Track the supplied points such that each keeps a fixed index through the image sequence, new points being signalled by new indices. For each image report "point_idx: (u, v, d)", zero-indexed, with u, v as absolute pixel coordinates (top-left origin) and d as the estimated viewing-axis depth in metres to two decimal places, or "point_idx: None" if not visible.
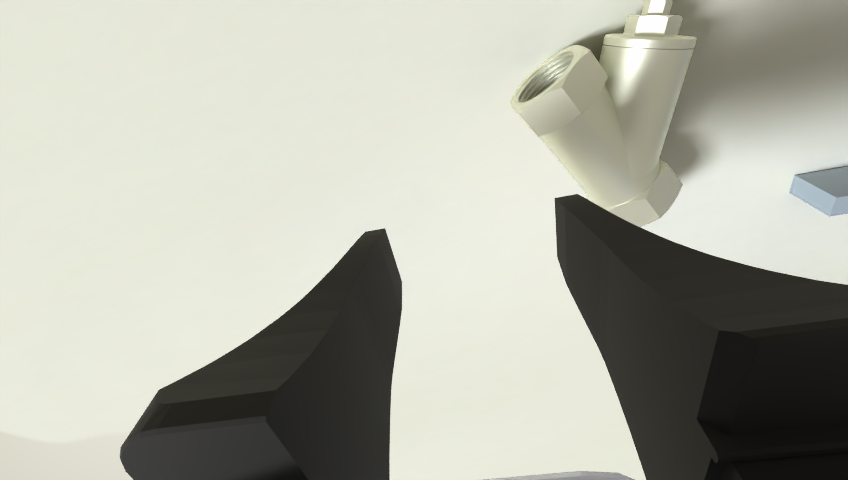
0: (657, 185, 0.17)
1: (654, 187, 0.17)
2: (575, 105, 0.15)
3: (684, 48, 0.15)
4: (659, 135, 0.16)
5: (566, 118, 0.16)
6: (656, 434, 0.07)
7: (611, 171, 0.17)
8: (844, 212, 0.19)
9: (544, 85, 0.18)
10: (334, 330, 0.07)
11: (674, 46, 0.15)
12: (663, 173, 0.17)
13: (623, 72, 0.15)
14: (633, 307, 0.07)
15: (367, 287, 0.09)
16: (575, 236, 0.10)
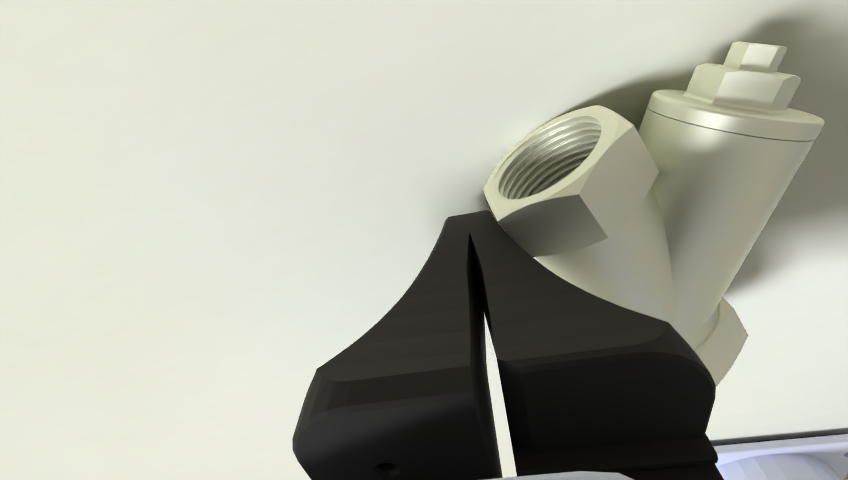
0: (714, 341, 0.11)
1: (709, 345, 0.11)
2: (600, 224, 0.08)
3: (806, 139, 0.08)
4: (731, 273, 0.10)
5: (580, 240, 0.09)
6: None
7: None
8: None
9: (541, 160, 0.11)
10: (469, 310, 0.07)
11: (792, 135, 0.08)
12: (724, 322, 0.11)
13: (687, 168, 0.09)
14: None
15: (471, 271, 0.09)
16: (474, 253, 0.10)
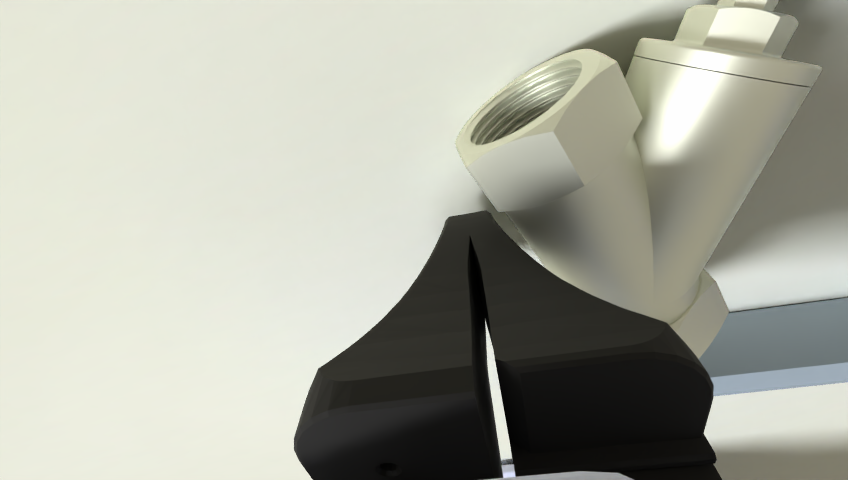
0: (693, 315, 0.10)
1: (688, 319, 0.10)
2: (575, 169, 0.07)
3: (801, 85, 0.07)
4: (715, 237, 0.09)
5: (554, 190, 0.08)
6: None
7: (621, 288, 0.09)
8: (721, 393, 0.13)
9: (519, 115, 0.10)
10: (471, 310, 0.07)
11: (787, 77, 0.07)
12: (705, 295, 0.10)
13: (673, 115, 0.08)
14: None
15: (471, 271, 0.09)
16: None
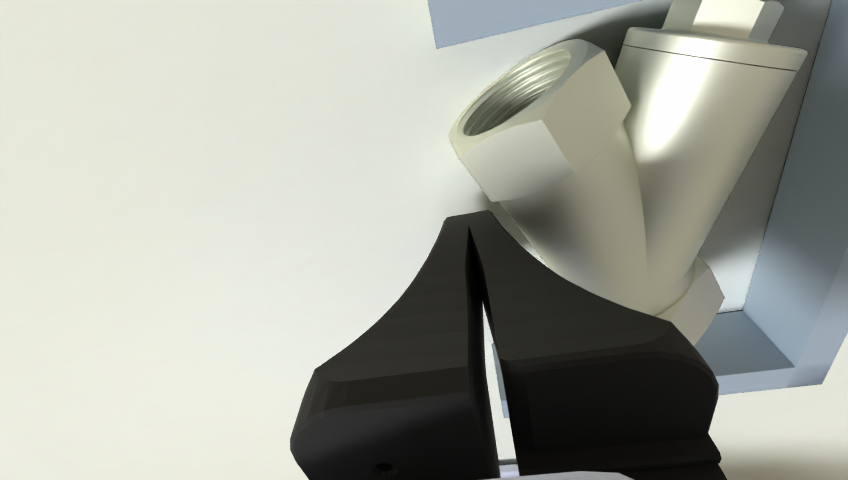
0: (688, 301, 0.10)
1: (683, 305, 0.10)
2: (565, 157, 0.08)
3: (786, 69, 0.07)
4: (706, 223, 0.09)
5: (545, 178, 0.08)
6: None
7: (615, 275, 0.09)
8: None
9: (512, 107, 0.10)
10: (468, 311, 0.07)
11: (772, 62, 0.07)
12: (699, 281, 0.10)
13: (661, 102, 0.08)
14: None
15: (469, 271, 0.09)
16: (475, 253, 0.10)
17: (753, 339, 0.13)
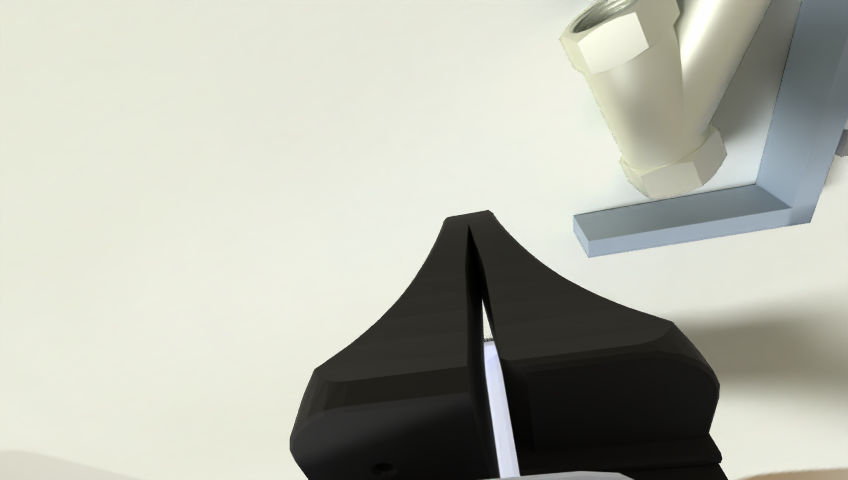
0: (705, 149, 0.16)
1: (702, 151, 0.16)
2: (644, 37, 0.14)
3: None
4: (719, 91, 0.15)
5: (630, 53, 0.14)
6: None
7: (663, 125, 0.15)
8: (601, 254, 0.20)
9: (597, 25, 0.16)
10: (467, 311, 0.07)
11: None
12: (712, 137, 0.16)
13: (697, 10, 0.14)
14: None
15: (469, 271, 0.09)
16: (475, 252, 0.10)
17: (763, 197, 0.19)
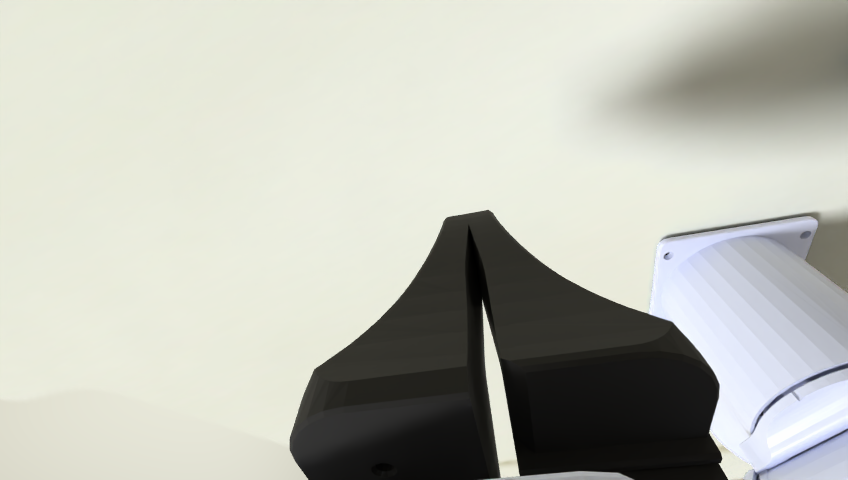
0: None
1: None
2: None
3: None
4: None
5: None
6: None
7: None
8: None
9: None
10: (467, 311, 0.07)
11: None
12: None
13: None
14: None
15: (469, 271, 0.09)
16: (475, 253, 0.10)
17: None
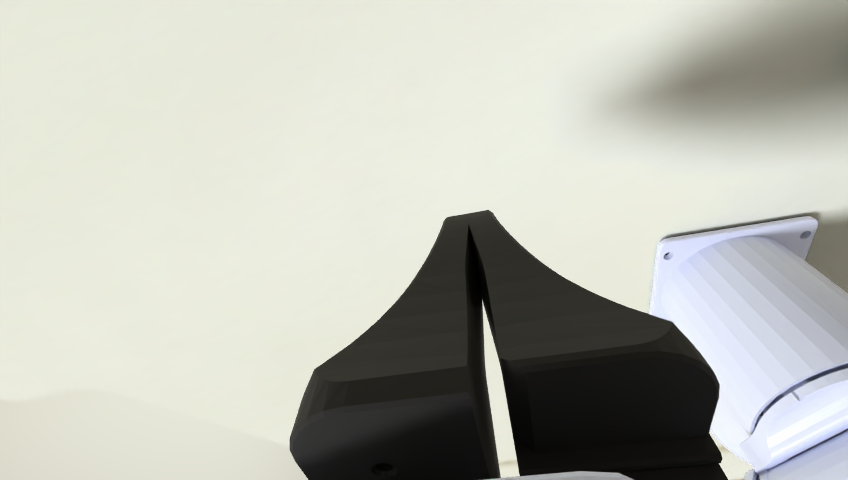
0: None
1: None
2: None
3: None
4: None
5: None
6: None
7: None
8: None
9: None
10: (467, 311, 0.07)
11: None
12: None
13: None
14: None
15: (469, 271, 0.09)
16: (475, 253, 0.10)
17: None
